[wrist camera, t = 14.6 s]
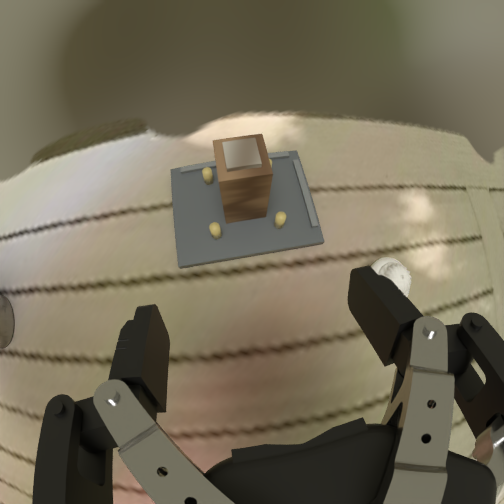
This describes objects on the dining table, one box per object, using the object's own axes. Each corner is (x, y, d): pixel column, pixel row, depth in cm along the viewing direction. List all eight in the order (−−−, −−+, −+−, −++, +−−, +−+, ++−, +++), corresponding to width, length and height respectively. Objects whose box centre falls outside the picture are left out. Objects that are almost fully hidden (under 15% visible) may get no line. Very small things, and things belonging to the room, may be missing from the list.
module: (225, 223, 34) (218, 178, 24) (220, 188, 35) (212, 136, 25) (265, 217, 34) (273, 170, 24) (258, 183, 36) (262, 130, 25)
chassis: (180, 268, 33) (173, 261, 30) (172, 173, 37) (166, 159, 34) (322, 244, 34) (329, 234, 31) (295, 154, 38) (299, 139, 35)
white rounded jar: (401, 302, 32) (431, 294, 26) (363, 317, 32) (390, 313, 25) (387, 259, 34) (414, 243, 27) (349, 271, 33) (372, 256, 27)
